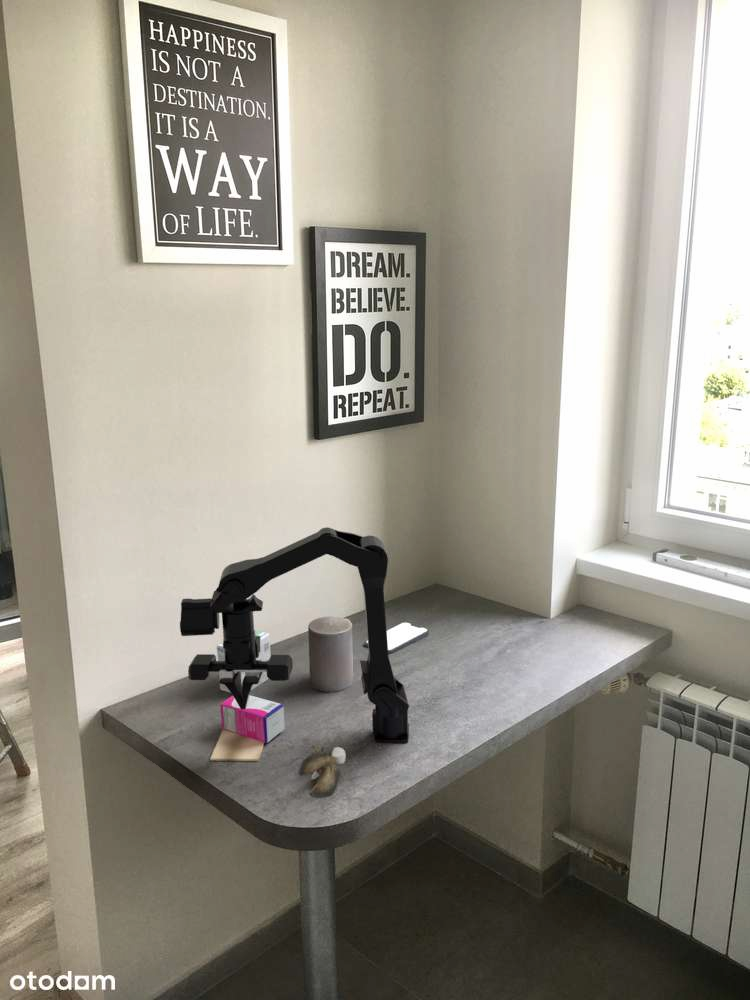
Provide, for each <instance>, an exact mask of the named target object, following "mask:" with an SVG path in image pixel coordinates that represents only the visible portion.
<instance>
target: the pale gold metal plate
mask: <svg viewBox="0 0 750 1000" xmlns="http://www.w3.org/2000/svg"><path fill="white" fill-rule="evenodd" d="M265 743H266V742H262V741H259V740H256V739H253V738H250V737H247V736H243V735H240V734H237V733H234V732H231V731H227V730H224V729H222V731H221V734H220V735H219V738H218V740H217V742H216V744H215V746H214V749H213V751H212V753H211V756H210V758H209V760H210V761H211V760H212V761H213V762H214V760H215V762H217V761H219V762H220V761H225V762H230V761H231V762H259V761H260V757H261V754H262V751H263V749H264V746H265ZM212 761H211V762H212Z"/></svg>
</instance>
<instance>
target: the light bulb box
mask: <svg viewBox="0 0 750 1000" xmlns="http://www.w3.org/2000/svg"><path fill="white" fill-rule="evenodd" d="M254 631H255V636H260V652H259V657H258V658H256V660H262V661H269V659H270V657H271V655H272V654H271V641H270V639H271V638H270V633H267V632H262V631H258V630H255V629H254ZM216 653H217V654H216V655H217V661H225V653H224V649H223V642H221V643H219V644H216ZM245 675H246V674H245V672H241V684H242V682H243V679H244V677H245ZM218 676H219V680H220V679H221V676H220V672H218ZM268 680H270V679H269V678H268V677H267V672H263V673H262V675H261V678H260V680H259V683H258V684H253V685H252V688H251V691H253V689H256V688H258V687H259V686H260V685H262V684H264V683H265V682H266V681H268ZM219 689H220V690H221V691H224V692H227V693H230V694H232V693H231V692H230V691H229V690H228V688H227V687H226V686H225V685H224V684H220V683H219Z"/></svg>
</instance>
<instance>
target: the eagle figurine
mask: <svg viewBox="0 0 750 1000" xmlns="http://www.w3.org/2000/svg"><path fill="white" fill-rule="evenodd" d="M311 747H312V749H313V750H314V752H312V753H310V754H309V755H307V756H306V758H304V759H303V760H302V762H301V764H300V766H299V768H298V769H299V770H298V771H297V774H298V776H300V777H303V776H305V775H309V774H312V775H311V778H310V780H311V781H313V780H315V779H317V778H318V779H317V781H316V784H315V785H314V786H313V787H312V789H311V790H310V794H311V796H313V797H314V798H315V799H316V798H317V799H320V798H322V799H323V798H325V797H328V796H329V795H332V794H333V793H334V792H335V791H336V789H337V785H338V783H339V780H340V778H341V771H340V768H338V766H337V765H343V764H345V762H346V756H347V755H346V751H345V750H344V748H342V747H339V746H337V747H336V746H335V747H334V748H333V749H332V750H331V751H330V752H329V753H328V751H327V750H326V748H325V746H322V747H321V750H320V749H319V748H317V746H315V745H314V744H313V743H311Z"/></svg>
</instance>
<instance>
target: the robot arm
mask: <svg viewBox="0 0 750 1000" xmlns="http://www.w3.org/2000/svg"><path fill="white" fill-rule="evenodd" d="M326 555H328V556H330V557H331V556H332V557H334V558H336V559H338V560H339V561H341V562H344V563H346V564H348V565H350V566H354V567H357V570H358V573H359V577H360V580H361V581H360V582H361V583H362V584H361V585H362V587H363V588H362V589H363V599H364V610H365V611H364V612H365V622H366V623H365V624H366V636H367V638H366V639H367V640H368V648H367V649H368V650H367V651H368V653H367V654H368V655H367V659H366V660H363V659H362V660H360V661H359V662H360V667H361V677H360V678H361V684H362V685H361V686H362V690H363V694H364V695H366V694H367V698H368V701H369V702H371V703H372V704H373V705H375V707H374V708H373V709H372V714H371V717H372V721H371V723H372V735H374V741H375V742H376V743H409V741H410V740H409V737H410V735H409V734H410V733H409V732H410V725H409V724H410V723H409V708H410V703H409V701H408V700H409V699H408V696H407V693H406V688H405V686H404V685H405V684H403V683H402V682H401V681H400V680H399V679H397V678H396V677H395V675H394V671H393V667H392V665H391V664H392V663H391V660H390V656H389V654H388V642H387V630H388V629H387V620H386V619H387V618H386V606H385V605H386V604H385V602H386V601H385V593H384V591H385V583H386V579H387V572H388V563H389V557H388V554H387V550H386V548H385V544H384V543H383V540H381V539H380V538H379V537H377V536H374V535H365V536H362V535H359V534H356V533H352V532H347V531H341V530H337V529H334V528H331V527H323V528H321V529H319V530H318V531H317V532H315V533H313V534H311V535H308V536H306V537H304V538H302V539H300V540H297V541H295V542H293V543H291V544H289V545H287V546H285V547H282V548H280V549H278V550H276V551H274V552H271V553H269V554H268V555H264V556H262V557H259V558H253V559H244V560H241V561H237V562H234V563H231V564H228V565H227V566H226V567H225V568H224V569H223V570H222V573H221V576H220V579H219V582H218V586H217V588H216V589H215V590H214V591H213V594H212V596H211V597H210V598H197V599H196V598H194V599H193V598H182V599H181V602H180V607H181V608H180V609H181V610H180V621H179V629H180V635H181V637H193V636H196V637H197V636H212V635H213V636H214V634H215V633H216V630H218V629H220V614H221V619H222V620H221V621H222V633H223V635H222V637H223V640H222V643H223V649H224V653H225V661H218V660H217V656H216V655H215V654H213V653H212V654H210V653H209V654H208V653H207V654H204V653H203V654H201V653H200V654H199V653H198V654H196V655H195V656H194V657H193V659H192V661H191V662H190V664H189V666H188V670H187V675H188V679H189V681H206V680H207V678H209V676H210V672H213V673H215V672H216V673H217V672H218V673H219V672H220V676H221V679H219V685H220V684H224V685H225V686H226V687H227V688H228V690H229V691H230V692H231V693H230V694H231V695H232V696H233V697H234V698H235V700H236V702H237V703H238V705H239V707H240V708H241V709H246V706H247V702H248V698H249V695H250V694H251V692H252V690H251V688H252V685H253V684H258V683H259V680H260V678H261V675H262V673H263V672H267V677H268V678H269V679H268V680H270V681H275V682H277V681H278V682H279V681H280V682H283V681H284V682H285V681H287V680H290V676H291V673H292V670H293V667H294V666H293V658H292V657H291V655H290V654H270V655H271V657H270V659H269V661H262V660H256V658H258V657H259V652H260V636H255V631H256V630H255V622H254V612H262V611H263V606H264V605H263V604H264V602H263V600H261V599H260V598H258V597H257V596H256V595H255V594H256V593H257V592H259V590H261V588H264V586H265V585H266V584H267V583H269V582H270V581H272V580H273V579H274V580H275V579H276V578H278V577H280V576H282V575H284V574H287V573H289V572H291V571H293V570H295V569H298V568H299V567H302V566H304V565H306V564H309V563H310V562H313V561H315V560H317V559H319V558H322V557H323V556H326ZM254 630H255V631H254ZM241 672H245V674H246V675H245V677H244V679H243V682H242V684H241ZM250 696H251V695H250Z"/></svg>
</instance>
